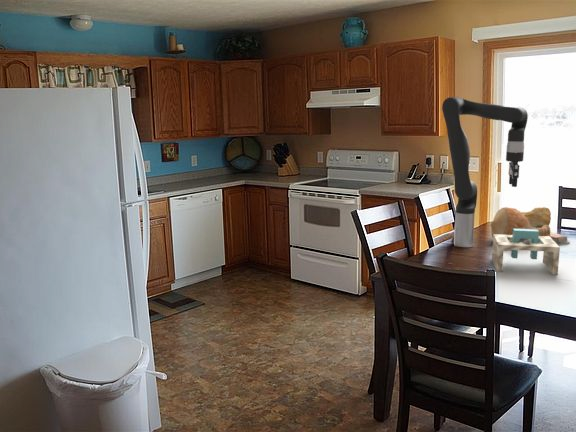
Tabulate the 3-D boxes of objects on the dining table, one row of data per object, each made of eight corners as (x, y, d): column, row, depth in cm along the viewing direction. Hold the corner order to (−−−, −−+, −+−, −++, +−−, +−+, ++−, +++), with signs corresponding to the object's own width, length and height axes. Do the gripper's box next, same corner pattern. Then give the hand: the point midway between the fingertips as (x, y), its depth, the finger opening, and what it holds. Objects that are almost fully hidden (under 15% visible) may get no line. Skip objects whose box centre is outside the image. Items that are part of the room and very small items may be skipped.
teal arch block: (512, 258, 245) (514, 230, 242) (510, 255, 249) (513, 228, 246) (536, 259, 242) (539, 231, 240) (535, 257, 246) (537, 229, 244)
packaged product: (571, 235, 285) (555, 237, 282) (570, 244, 286) (555, 246, 283) (544, 228, 302) (529, 230, 298) (543, 237, 302) (529, 238, 299)
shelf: (497, 271, 239) (499, 241, 237) (491, 259, 259) (493, 231, 256) (557, 274, 234) (560, 244, 231) (547, 262, 253) (549, 233, 250)
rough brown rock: (549, 231, 317) (550, 205, 316) (550, 235, 302) (551, 208, 301) (506, 229, 326) (507, 204, 325) (504, 233, 311) (505, 207, 310)
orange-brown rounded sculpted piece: (480, 216, 298) (532, 221, 302) (484, 249, 290) (538, 253, 293) (497, 199, 281) (553, 204, 284) (503, 233, 272) (560, 238, 276)
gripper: (504, 149, 267) (502, 183, 270) (508, 152, 253) (506, 187, 257) (521, 149, 265) (518, 183, 268) (526, 152, 252) (523, 187, 255)
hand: (512, 185), depth 262 cm, fingers open, 8 cm apart
